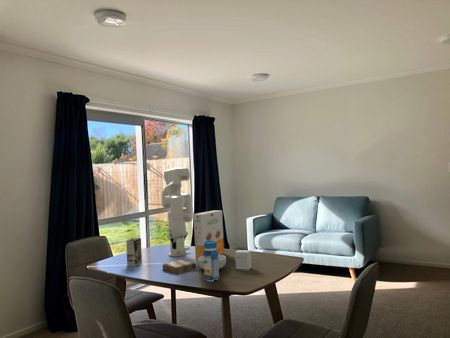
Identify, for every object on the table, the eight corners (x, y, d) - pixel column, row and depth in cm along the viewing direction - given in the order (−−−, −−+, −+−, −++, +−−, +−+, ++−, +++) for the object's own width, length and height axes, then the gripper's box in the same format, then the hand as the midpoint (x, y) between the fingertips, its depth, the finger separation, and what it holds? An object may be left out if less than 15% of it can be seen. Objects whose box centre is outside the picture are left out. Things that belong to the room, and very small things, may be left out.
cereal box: (216, 253, 257) (214, 210, 257) (223, 253, 253) (222, 210, 253) (195, 260, 239) (193, 214, 239) (203, 261, 235) (200, 214, 235)
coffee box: (136, 266, 230) (135, 240, 230) (126, 266, 231) (125, 240, 231) (142, 262, 239) (141, 237, 239) (133, 262, 240) (132, 237, 240)
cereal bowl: (194, 268, 220) (194, 256, 220) (220, 264, 225) (220, 252, 225) (203, 275, 204) (202, 262, 204) (230, 271, 209) (230, 258, 210)
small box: (251, 268, 213) (250, 250, 213) (249, 270, 208) (248, 252, 208) (238, 267, 216) (237, 249, 216) (235, 270, 211) (234, 251, 211)
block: (179, 248, 220) (179, 236, 220) (184, 249, 217) (183, 237, 217) (172, 249, 217) (172, 238, 217) (177, 250, 213) (176, 238, 213)
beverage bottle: (220, 281, 191) (218, 242, 191) (204, 282, 190) (202, 243, 190) (219, 276, 199) (217, 239, 199) (203, 277, 199) (202, 240, 199)
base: (182, 265, 227) (181, 258, 227) (195, 269, 216) (195, 262, 216) (162, 270, 218) (162, 263, 218) (176, 274, 207) (175, 267, 207)
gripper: (185, 215, 226) (186, 245, 225) (161, 218, 214) (162, 249, 214) (192, 216, 220) (193, 246, 220) (168, 219, 209) (169, 251, 208)
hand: (178, 247), depth 217 cm, fingers closed on block, 5 cm apart
